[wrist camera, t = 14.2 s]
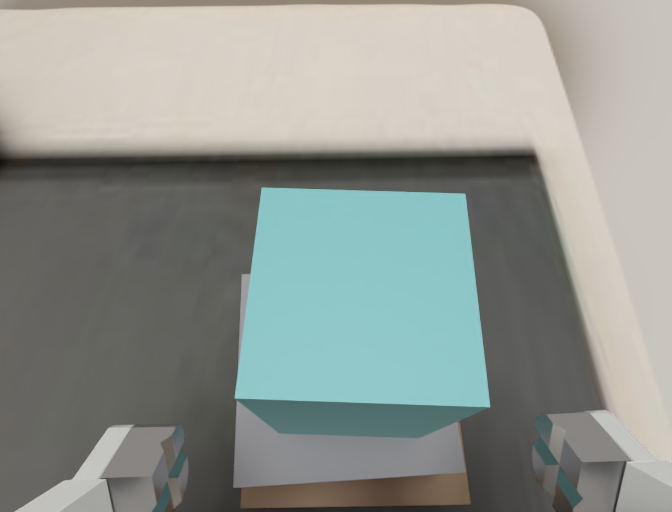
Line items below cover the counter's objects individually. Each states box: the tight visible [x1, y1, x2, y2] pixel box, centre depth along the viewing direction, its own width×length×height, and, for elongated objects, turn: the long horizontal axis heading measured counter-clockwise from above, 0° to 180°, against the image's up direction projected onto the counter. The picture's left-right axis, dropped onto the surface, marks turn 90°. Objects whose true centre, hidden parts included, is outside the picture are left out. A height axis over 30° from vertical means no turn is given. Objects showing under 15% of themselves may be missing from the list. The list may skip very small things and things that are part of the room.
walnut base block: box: [240, 421, 471, 508], centre depth 24 cm, size 10×10×5 cm
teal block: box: [235, 188, 490, 438], centre depth 13 cm, size 5×5×8 cm
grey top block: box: [233, 274, 466, 488], centre depth 19 cm, size 8×8×5 cm
